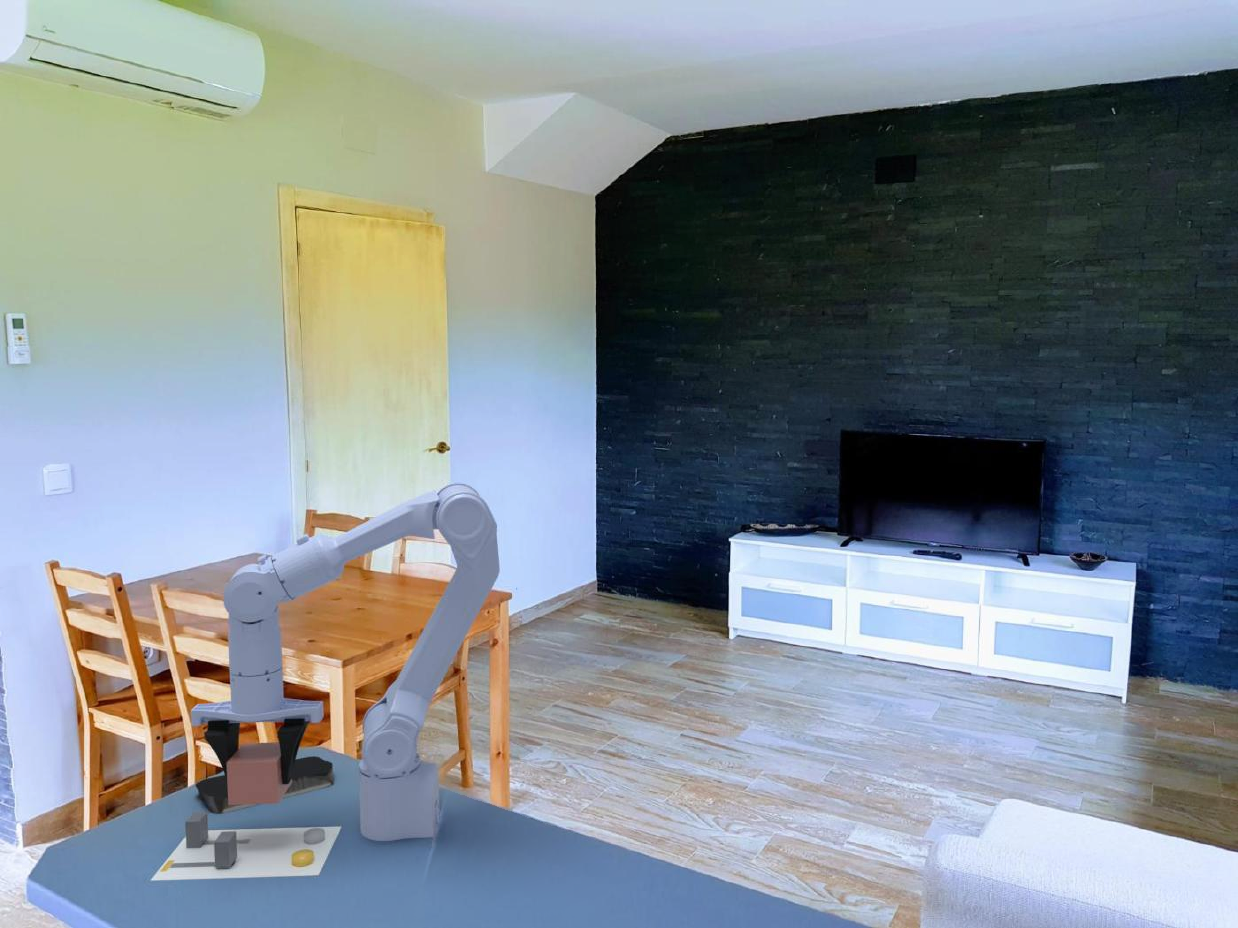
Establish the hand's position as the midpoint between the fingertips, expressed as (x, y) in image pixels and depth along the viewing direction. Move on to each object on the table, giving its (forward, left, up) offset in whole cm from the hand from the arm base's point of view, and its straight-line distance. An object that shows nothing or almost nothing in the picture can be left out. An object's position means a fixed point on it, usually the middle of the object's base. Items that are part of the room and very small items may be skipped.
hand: (260, 781), depth 109 cm
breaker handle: (+3, +5, -7) cm, 9 cm away
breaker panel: (+1, +3, -9) cm, 9 cm away
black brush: (+4, -14, -9) cm, 17 cm away
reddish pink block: (0, 0, -1) cm, 1 cm away
